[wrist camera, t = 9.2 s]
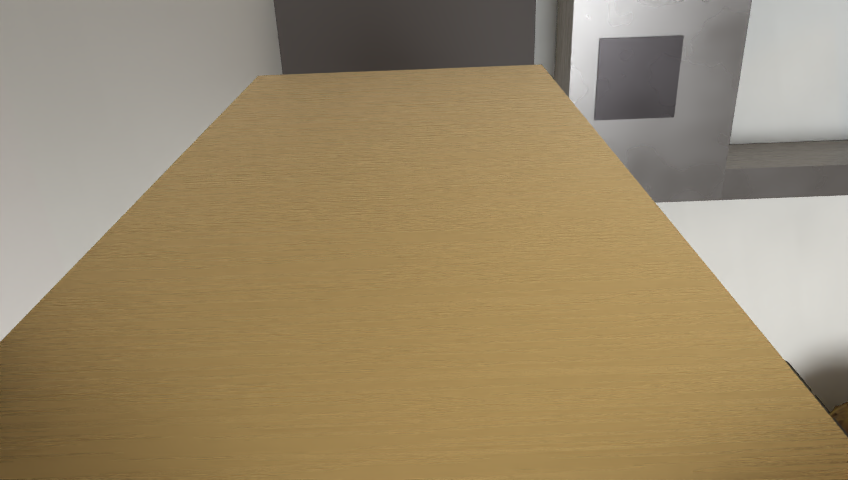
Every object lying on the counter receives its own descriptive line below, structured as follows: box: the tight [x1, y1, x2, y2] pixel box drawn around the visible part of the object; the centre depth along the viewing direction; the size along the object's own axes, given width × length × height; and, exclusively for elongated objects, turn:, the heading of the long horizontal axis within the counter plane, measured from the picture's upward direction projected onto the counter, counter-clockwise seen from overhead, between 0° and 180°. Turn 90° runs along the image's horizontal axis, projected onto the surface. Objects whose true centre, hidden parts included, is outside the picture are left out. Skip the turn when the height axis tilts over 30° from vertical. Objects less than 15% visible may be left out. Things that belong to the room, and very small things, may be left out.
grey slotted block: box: [554, 0, 848, 202], centre depth 27 cm, size 20×10×3 cm, turn 92°
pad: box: [274, 0, 536, 75], centre depth 28 cm, size 10×10×1 cm
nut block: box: [0, 65, 848, 480], centre depth 11 cm, size 6×6×12 cm
